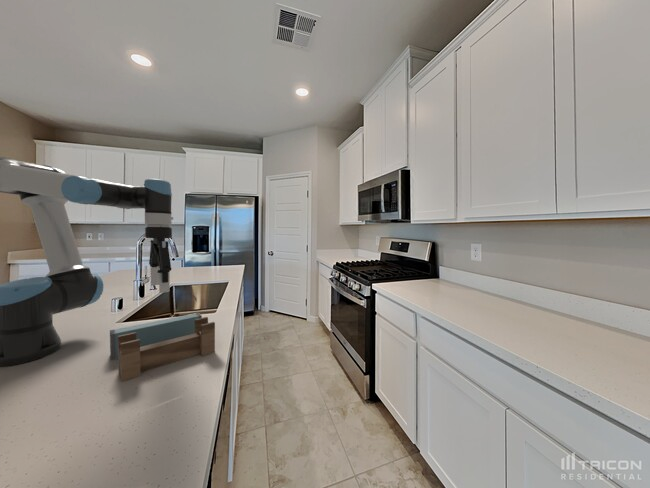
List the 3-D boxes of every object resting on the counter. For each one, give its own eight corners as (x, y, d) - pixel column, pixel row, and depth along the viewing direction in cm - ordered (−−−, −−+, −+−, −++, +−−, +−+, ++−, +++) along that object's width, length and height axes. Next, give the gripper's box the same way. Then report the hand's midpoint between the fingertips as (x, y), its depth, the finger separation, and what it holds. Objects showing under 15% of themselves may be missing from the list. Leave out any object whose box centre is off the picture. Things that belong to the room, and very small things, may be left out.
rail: (110, 355, 80) (109, 330, 79) (198, 333, 98) (198, 312, 97) (111, 360, 77) (111, 334, 76) (201, 336, 95) (201, 315, 94)
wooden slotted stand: (118, 370, 71) (118, 335, 71) (206, 344, 88) (206, 316, 88) (121, 381, 66) (121, 344, 66) (214, 352, 83) (214, 322, 82)
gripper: (181, 226, 79) (182, 293, 80) (162, 226, 97) (163, 281, 98) (153, 226, 73) (154, 297, 75) (138, 226, 91) (140, 283, 92)
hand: (159, 288), depth 86 cm, fingers open, 13 cm apart
